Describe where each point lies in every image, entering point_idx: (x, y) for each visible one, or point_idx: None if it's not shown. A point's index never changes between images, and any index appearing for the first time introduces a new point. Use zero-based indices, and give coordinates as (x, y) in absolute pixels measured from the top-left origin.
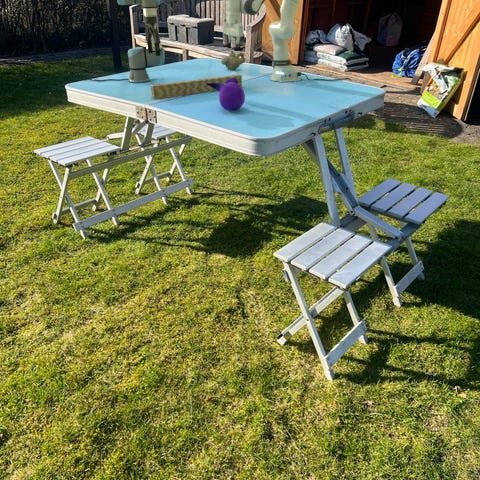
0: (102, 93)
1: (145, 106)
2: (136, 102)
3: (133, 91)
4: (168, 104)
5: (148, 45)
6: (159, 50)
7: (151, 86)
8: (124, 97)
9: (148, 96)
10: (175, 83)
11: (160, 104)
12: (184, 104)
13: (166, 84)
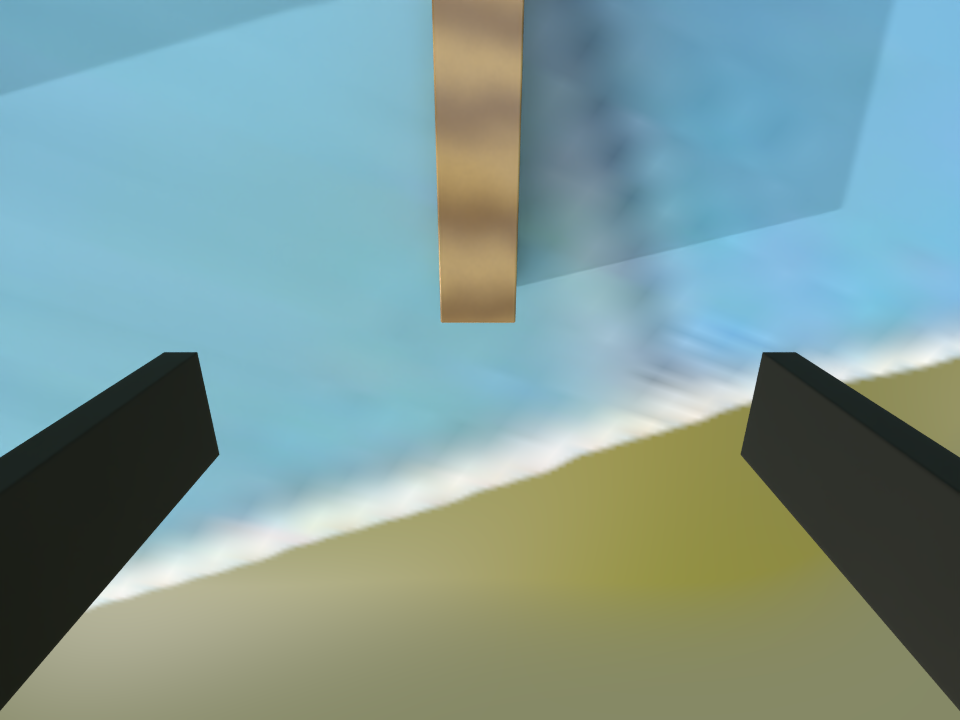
0: None
1: (680, 420)
2: (520, 435)
3: (101, 340)
4: (752, 251)
5: (85, 585)
6: (884, 427)
7: (464, 320)
8: (306, 460)
9: (366, 293)
10: (510, 13)
11: (704, 307)
12: (861, 123)
13: (500, 149)
